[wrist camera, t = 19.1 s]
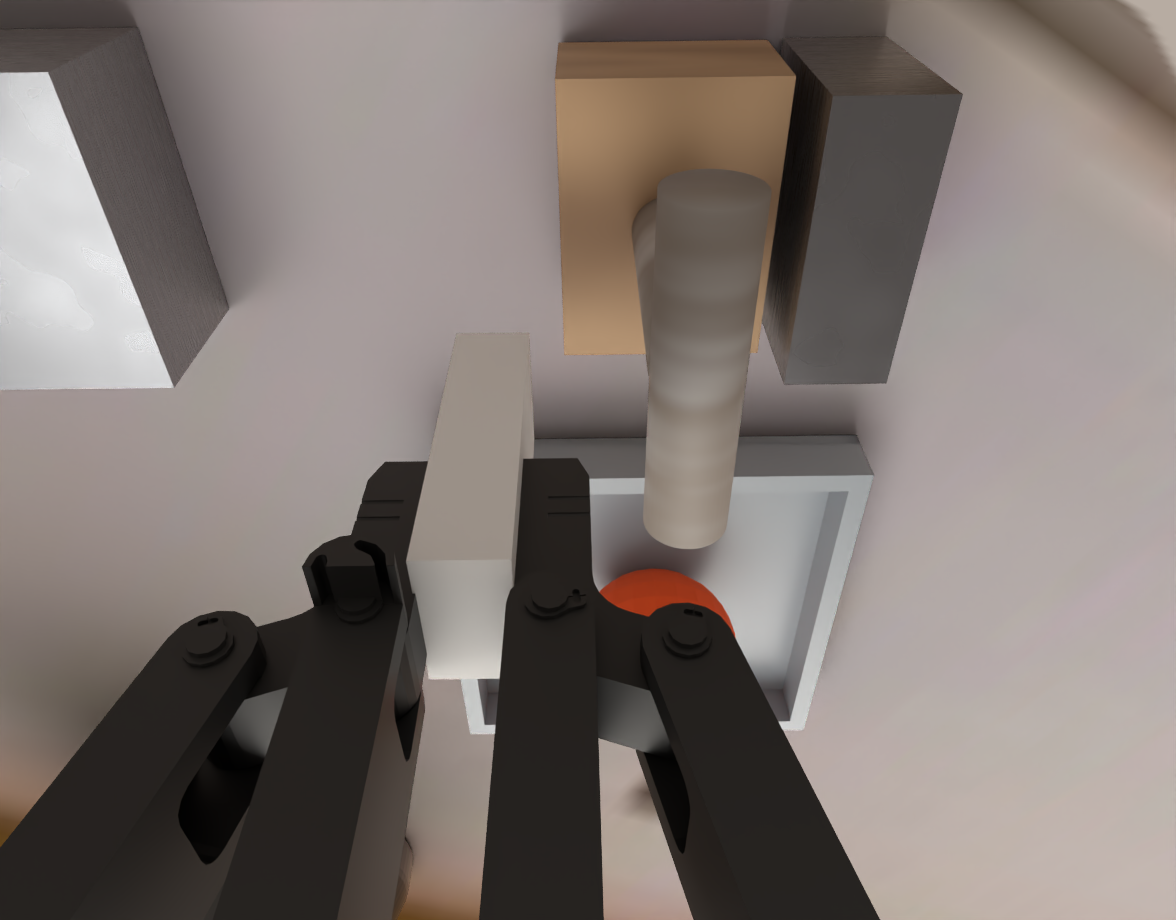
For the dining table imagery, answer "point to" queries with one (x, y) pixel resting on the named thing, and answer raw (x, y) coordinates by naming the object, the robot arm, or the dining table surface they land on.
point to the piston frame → (190, 280)
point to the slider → (673, 243)
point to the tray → (736, 551)
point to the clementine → (659, 592)
